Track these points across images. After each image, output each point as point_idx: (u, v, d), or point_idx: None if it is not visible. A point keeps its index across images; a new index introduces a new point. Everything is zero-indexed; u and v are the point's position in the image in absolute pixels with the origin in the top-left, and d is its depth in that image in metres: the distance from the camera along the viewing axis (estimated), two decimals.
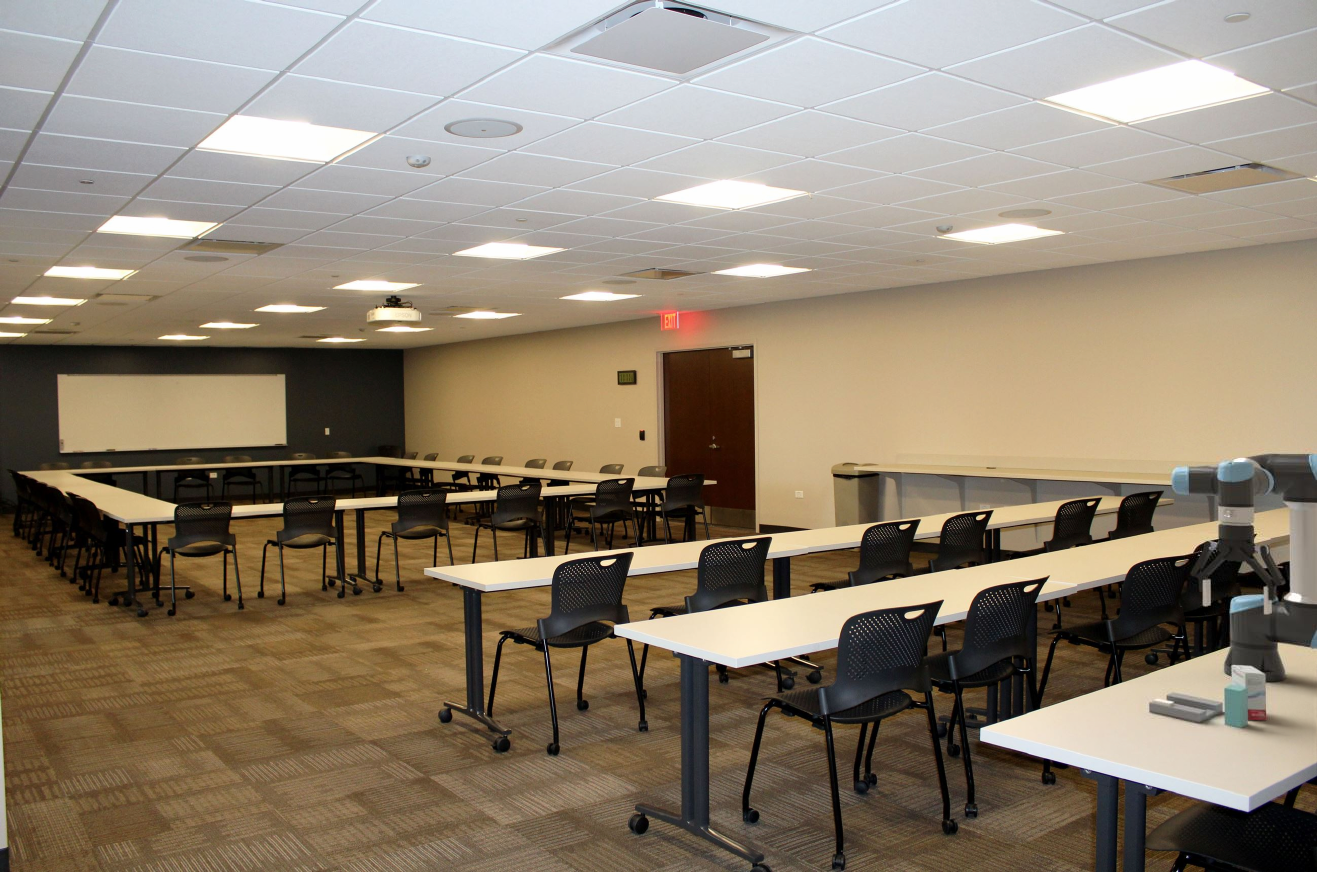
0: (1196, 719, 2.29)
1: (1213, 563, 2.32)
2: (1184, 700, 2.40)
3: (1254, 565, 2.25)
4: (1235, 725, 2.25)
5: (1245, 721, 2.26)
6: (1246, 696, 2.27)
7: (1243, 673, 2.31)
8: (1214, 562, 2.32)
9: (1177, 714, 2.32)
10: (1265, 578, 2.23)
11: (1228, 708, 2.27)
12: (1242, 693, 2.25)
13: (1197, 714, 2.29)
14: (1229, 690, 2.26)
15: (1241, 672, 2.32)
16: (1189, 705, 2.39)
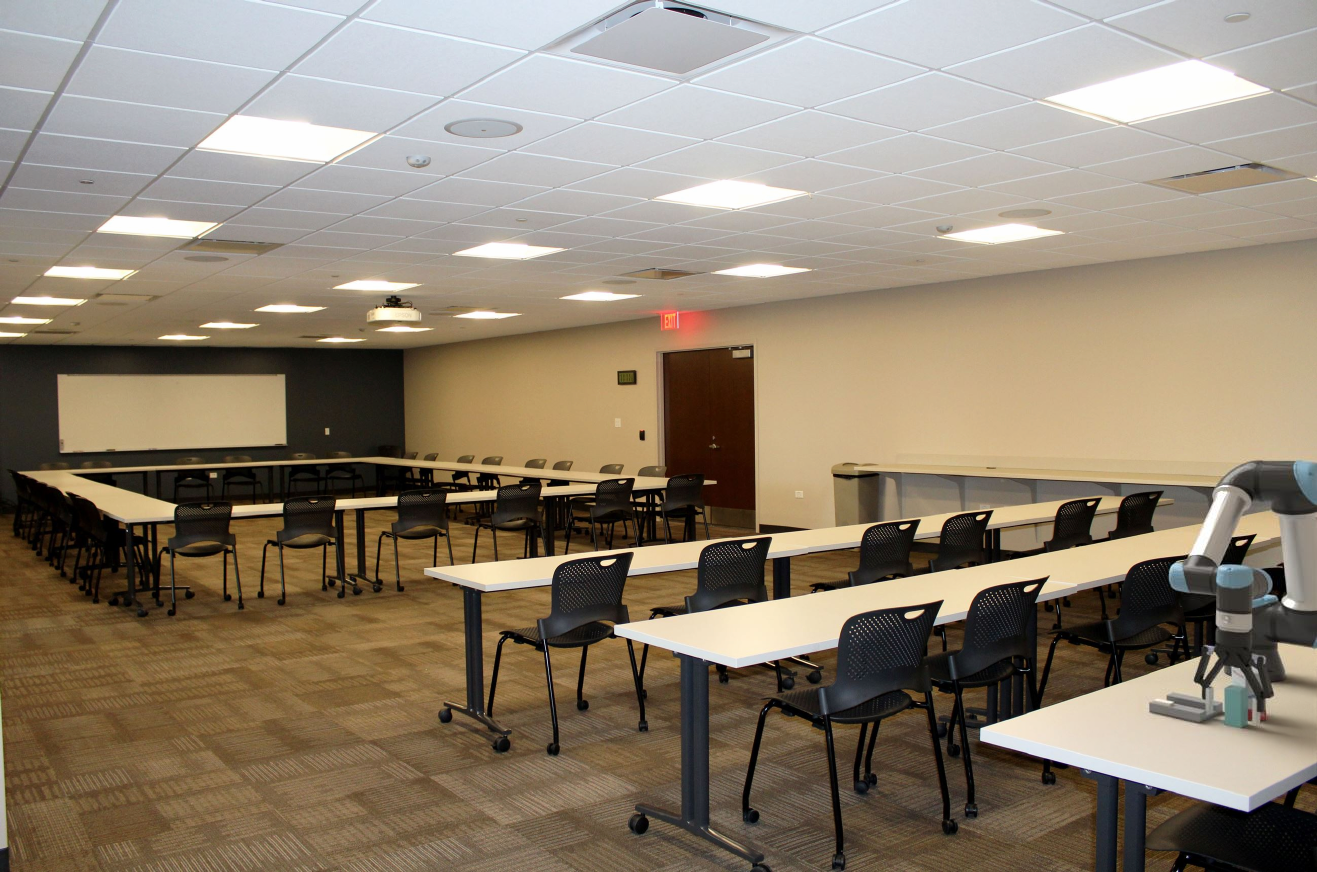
0: (1196, 719, 2.29)
1: (1213, 669, 2.30)
2: (1184, 700, 2.40)
3: (1248, 674, 2.24)
4: (1235, 725, 2.25)
5: (1245, 721, 2.26)
6: (1246, 696, 2.27)
7: (1243, 673, 2.31)
8: (1214, 668, 2.30)
9: (1177, 714, 2.32)
10: (1256, 689, 2.23)
11: (1228, 708, 2.27)
12: (1242, 693, 2.25)
13: (1197, 714, 2.29)
14: (1229, 690, 2.26)
15: (1241, 672, 2.32)
16: (1189, 705, 2.39)
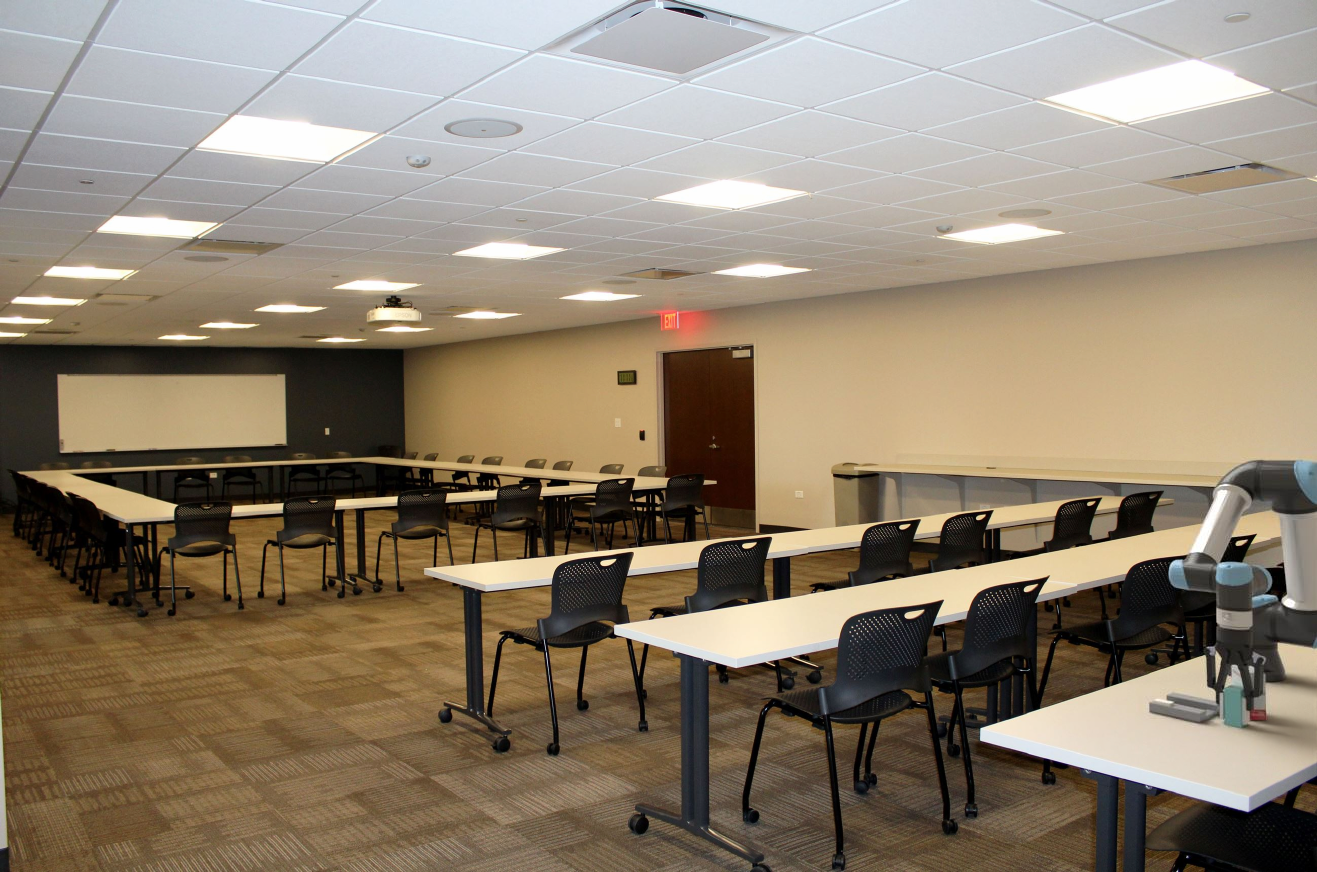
0: (1196, 719, 2.29)
1: (1221, 671, 2.29)
2: (1184, 700, 2.40)
3: (1243, 673, 2.25)
4: (1235, 725, 2.25)
5: None
6: None
7: None
8: (1221, 669, 2.29)
9: (1177, 714, 2.32)
10: (1247, 688, 2.24)
11: (1228, 708, 2.27)
12: (1242, 693, 2.25)
13: (1197, 714, 2.29)
14: (1229, 690, 2.26)
15: None
16: (1189, 705, 2.39)
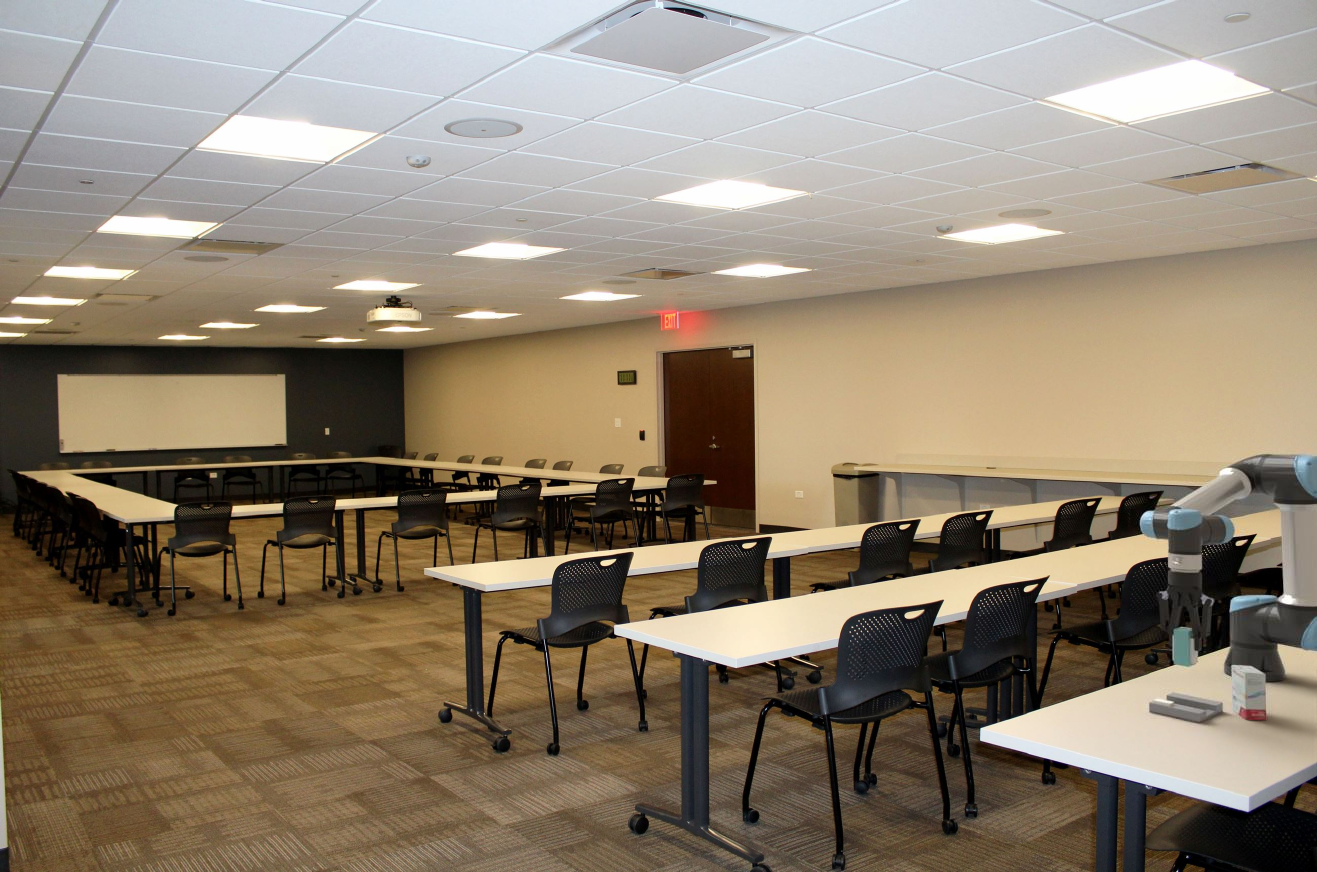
0: (1196, 719, 2.29)
1: (1173, 613, 2.38)
2: (1184, 700, 2.40)
3: (1192, 614, 2.34)
4: (1183, 664, 2.35)
5: None
6: None
7: (1243, 673, 2.31)
8: (1173, 612, 2.38)
9: (1177, 714, 2.32)
10: (1195, 629, 2.34)
11: (1177, 648, 2.36)
12: (1190, 633, 2.35)
13: (1197, 714, 2.29)
14: (1178, 631, 2.36)
15: (1241, 672, 2.32)
16: (1189, 705, 2.39)
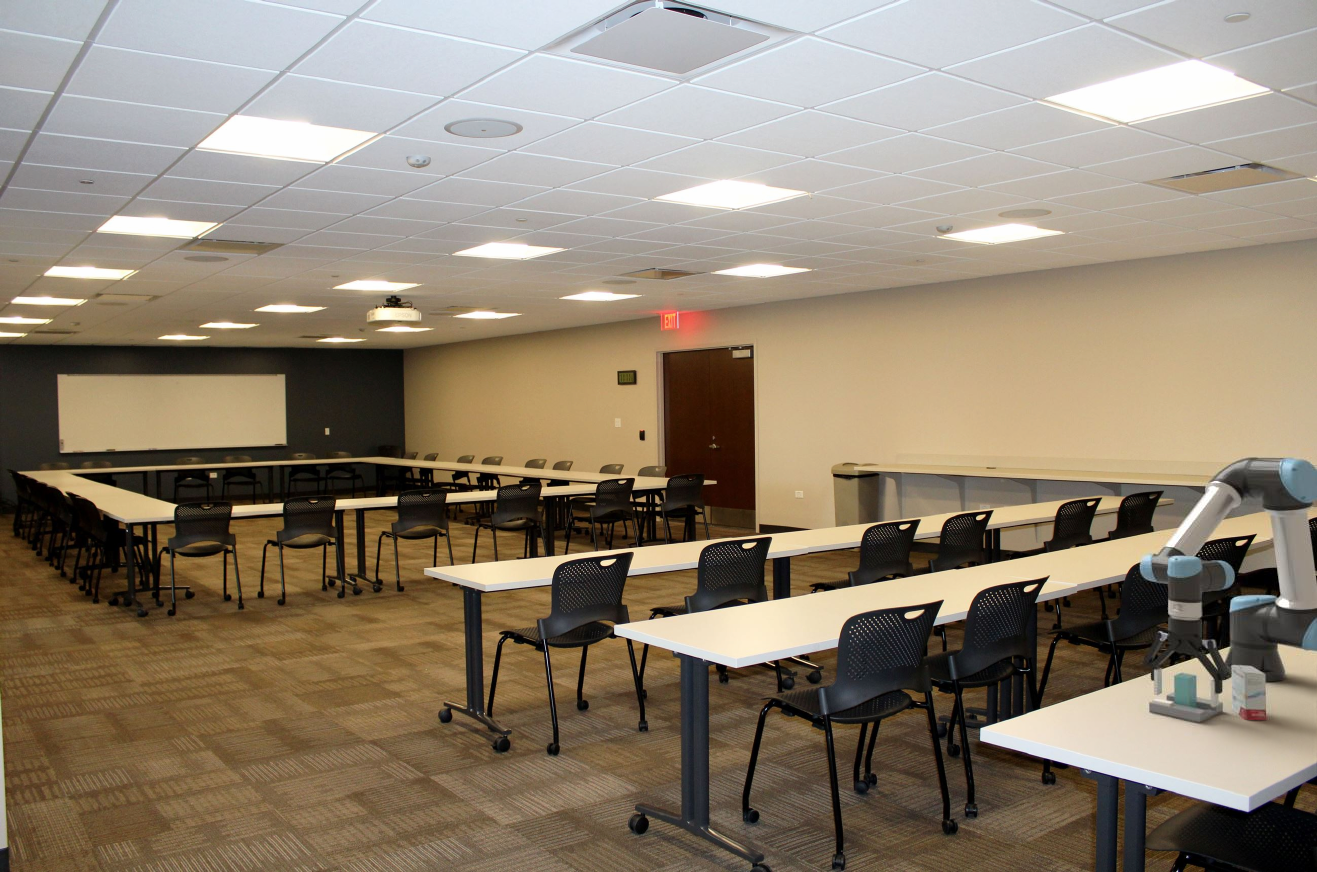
0: (1196, 719, 2.29)
1: (1164, 654, 2.40)
2: None
3: (1202, 659, 2.33)
4: None
5: (1194, 707, 2.36)
6: (1195, 684, 2.37)
7: (1243, 673, 2.31)
8: (1164, 653, 2.40)
9: (1177, 714, 2.32)
10: (1212, 672, 2.31)
11: (1177, 694, 2.36)
12: (1190, 680, 2.35)
13: (1197, 714, 2.29)
14: (1178, 678, 2.36)
15: (1241, 672, 2.32)
16: None
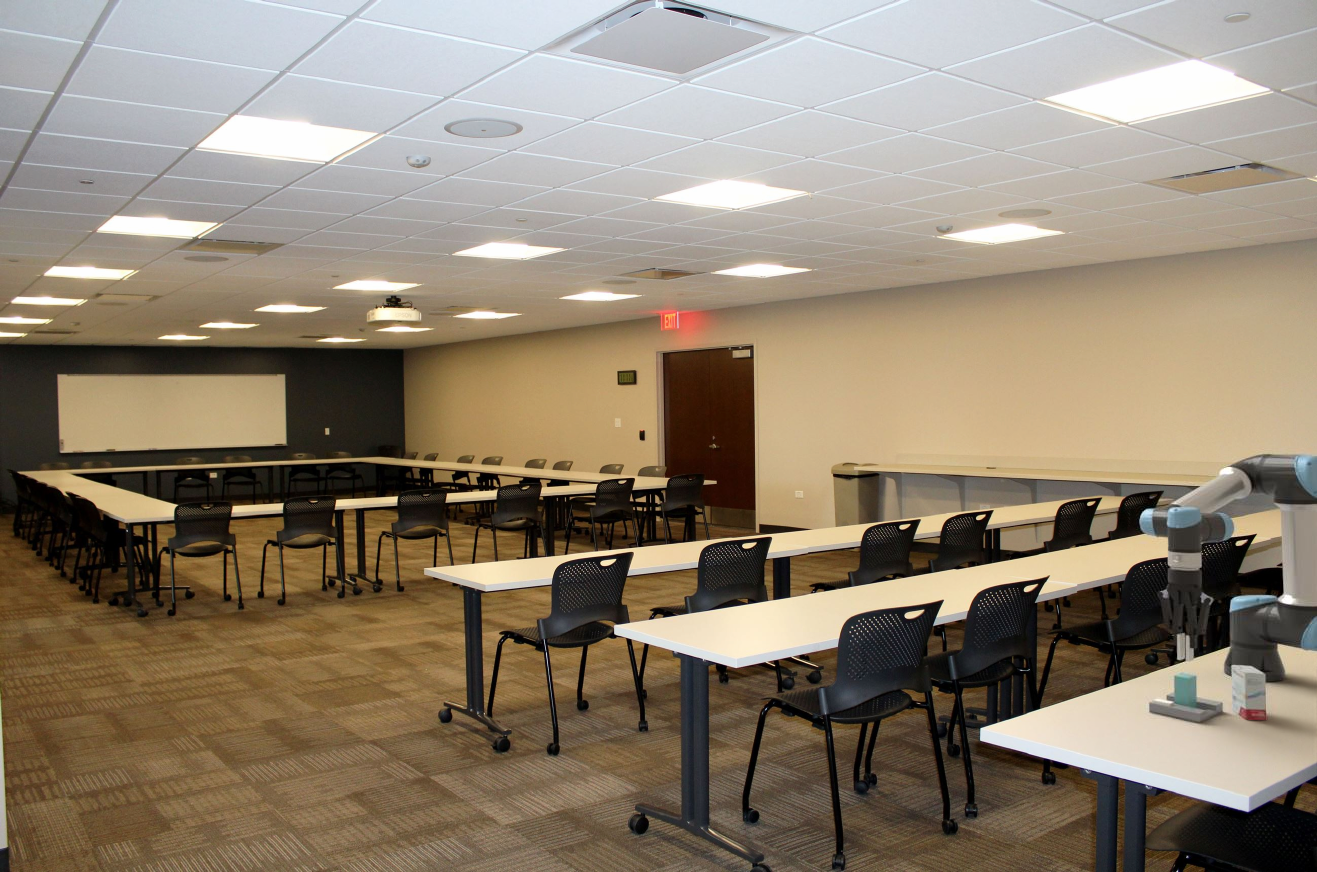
0: (1196, 719, 2.29)
1: (1175, 612, 2.38)
2: None
3: (1190, 612, 2.35)
4: None
5: (1194, 707, 2.36)
6: (1195, 684, 2.37)
7: (1243, 673, 2.31)
8: (1175, 611, 2.38)
9: (1177, 714, 2.32)
10: (1191, 627, 2.35)
11: (1177, 694, 2.36)
12: (1190, 680, 2.35)
13: (1197, 714, 2.29)
14: (1178, 678, 2.36)
15: (1241, 672, 2.32)
16: None
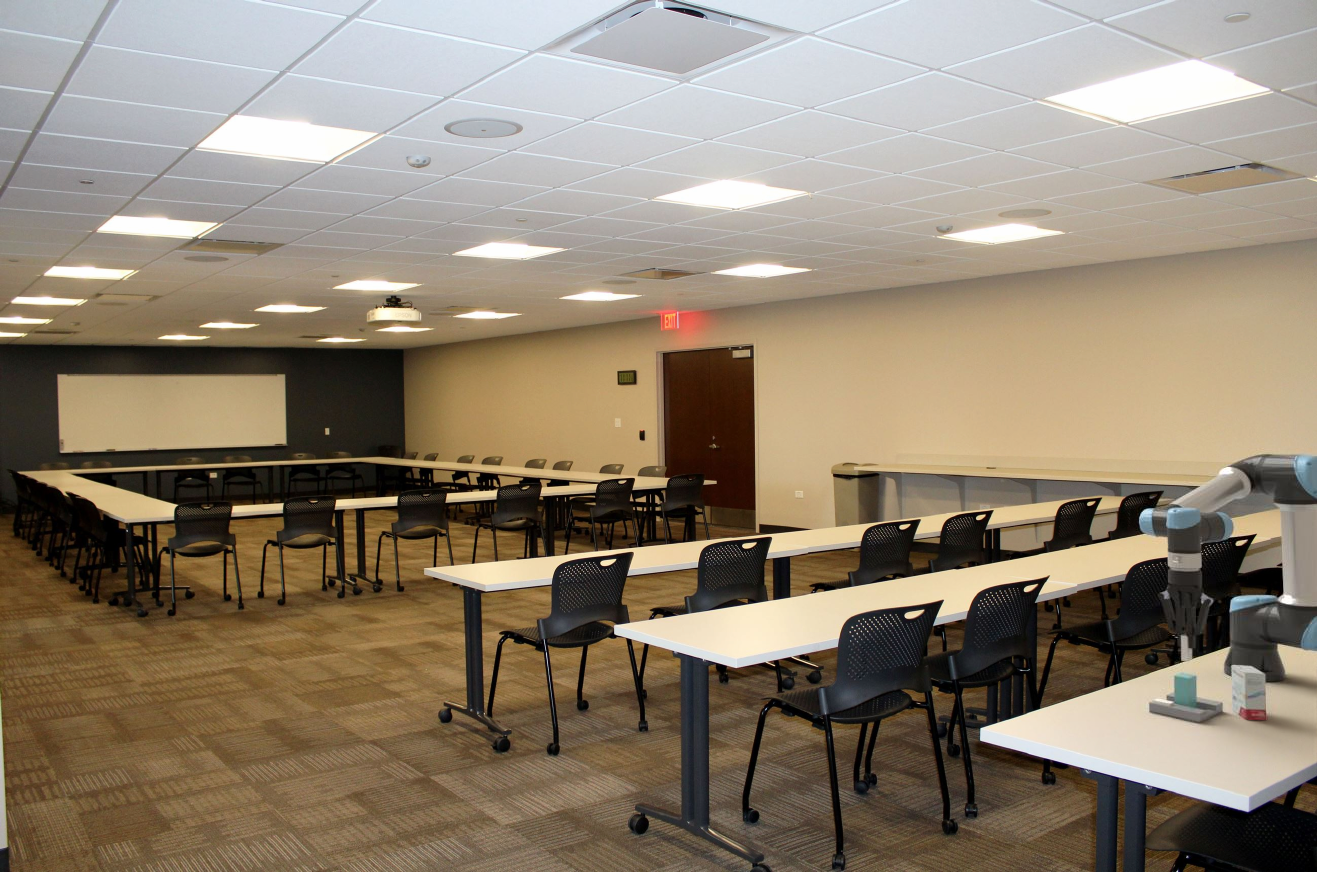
0: (1196, 719, 2.29)
1: (1177, 613, 2.38)
2: None
3: (1189, 612, 2.35)
4: None
5: (1194, 707, 2.36)
6: (1195, 684, 2.37)
7: (1243, 673, 2.31)
8: (1177, 612, 2.38)
9: (1177, 714, 2.32)
10: (1190, 627, 2.35)
11: (1177, 694, 2.36)
12: (1190, 680, 2.35)
13: (1197, 714, 2.29)
14: (1178, 678, 2.36)
15: (1241, 672, 2.32)
16: None
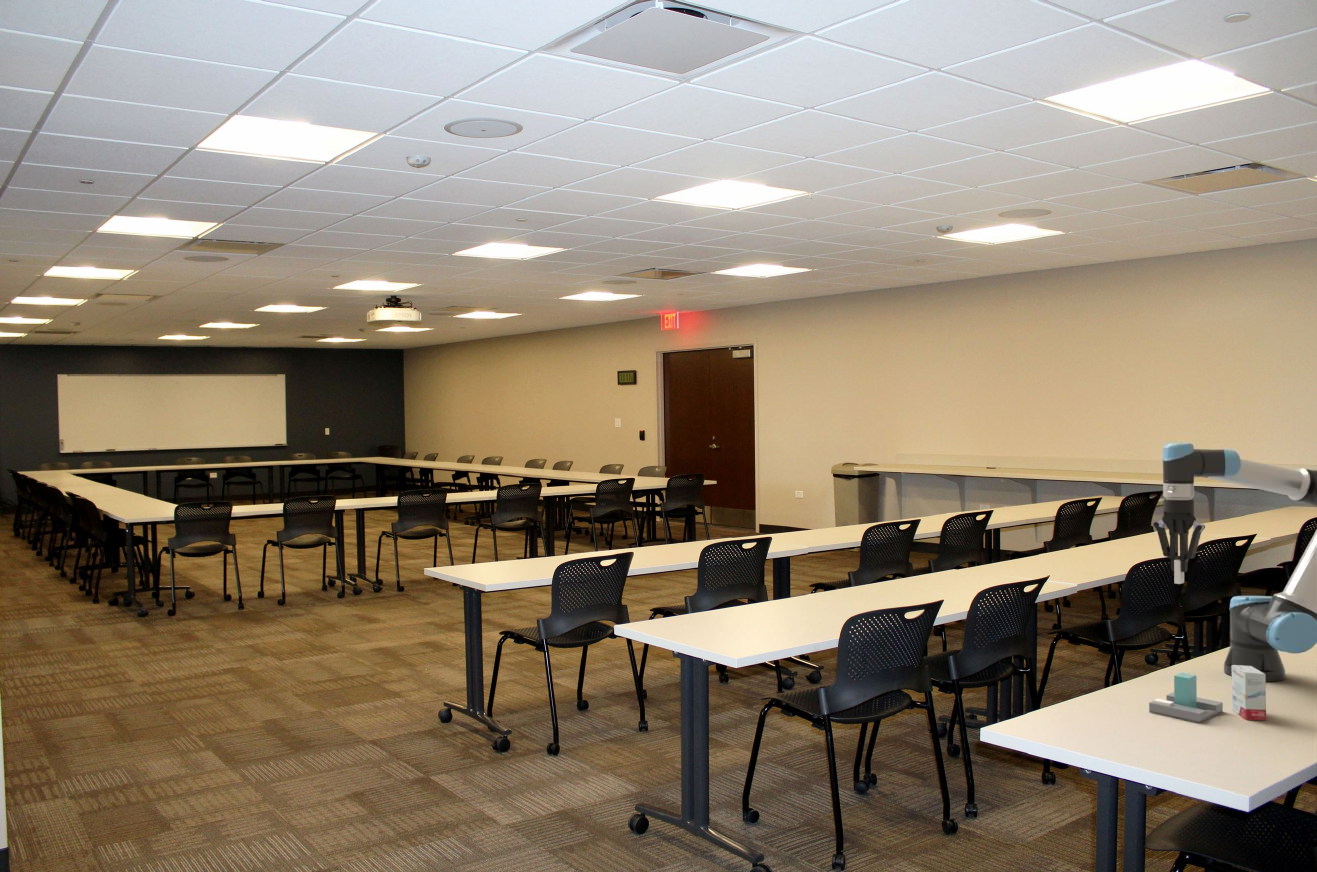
0: (1196, 719, 2.29)
1: (1171, 539, 2.58)
2: None
3: (1182, 538, 2.56)
4: None
5: (1194, 707, 2.36)
6: (1195, 684, 2.37)
7: (1243, 673, 2.31)
8: (1171, 538, 2.58)
9: (1177, 714, 2.32)
10: (1182, 552, 2.56)
11: (1177, 694, 2.36)
12: (1190, 680, 2.35)
13: (1197, 714, 2.29)
14: (1178, 678, 2.36)
15: (1241, 672, 2.32)
16: None
